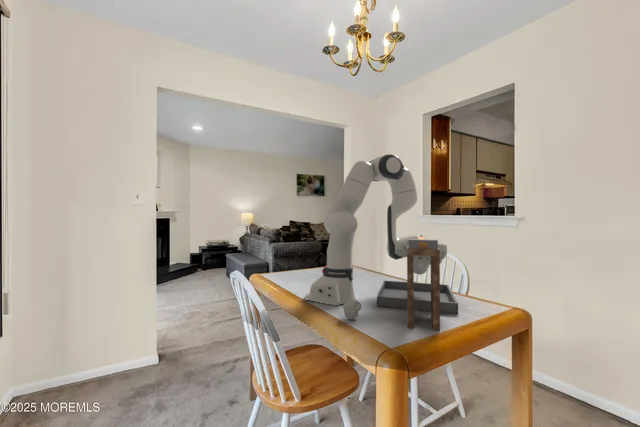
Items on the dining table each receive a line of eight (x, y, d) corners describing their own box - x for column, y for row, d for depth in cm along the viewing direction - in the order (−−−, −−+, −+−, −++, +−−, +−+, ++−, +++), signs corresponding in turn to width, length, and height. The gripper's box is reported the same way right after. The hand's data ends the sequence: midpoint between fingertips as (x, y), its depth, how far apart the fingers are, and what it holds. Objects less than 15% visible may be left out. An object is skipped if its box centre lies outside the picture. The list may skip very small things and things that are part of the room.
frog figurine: (362, 322, 98) (362, 302, 98) (342, 321, 99) (341, 301, 99) (361, 316, 104) (361, 297, 105) (342, 315, 105) (342, 296, 105)
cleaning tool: (408, 248, 95) (408, 239, 95) (409, 242, 116) (409, 235, 116) (437, 249, 92) (437, 240, 92) (432, 243, 113) (432, 235, 113)
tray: (377, 306, 116) (377, 296, 116) (383, 288, 144) (383, 280, 144) (458, 314, 107) (458, 303, 107) (448, 293, 135) (448, 284, 135)
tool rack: (407, 327, 94) (407, 248, 94) (407, 315, 106) (407, 245, 106) (440, 331, 91) (439, 249, 91) (436, 318, 103) (436, 246, 103)
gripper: (395, 247, 128) (393, 234, 117) (444, 249, 122) (448, 235, 111) (394, 261, 125) (393, 248, 114) (445, 263, 119) (449, 250, 108)
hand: (420, 241), depth 112 cm, fingers open, 8 cm apart
